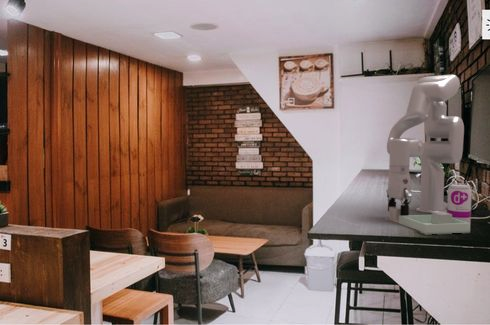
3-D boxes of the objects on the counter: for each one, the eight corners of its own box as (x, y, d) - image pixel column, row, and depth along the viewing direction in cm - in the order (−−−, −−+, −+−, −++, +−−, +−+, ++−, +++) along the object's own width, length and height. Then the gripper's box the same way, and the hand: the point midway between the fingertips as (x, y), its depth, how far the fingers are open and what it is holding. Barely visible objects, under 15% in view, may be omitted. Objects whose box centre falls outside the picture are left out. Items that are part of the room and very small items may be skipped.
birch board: (418, 218, 186) (418, 217, 186) (430, 222, 178) (430, 221, 178) (384, 219, 184) (384, 218, 184) (395, 224, 175) (395, 222, 175)
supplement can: (469, 226, 170) (470, 187, 169) (445, 224, 174) (446, 185, 173) (471, 223, 177) (472, 185, 176) (448, 221, 181) (449, 183, 180)
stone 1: (399, 218, 183) (400, 206, 183) (407, 220, 178) (407, 208, 178) (388, 219, 182) (389, 206, 181) (396, 221, 177) (396, 208, 176)
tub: (439, 223, 177) (439, 214, 176) (470, 233, 159) (470, 223, 159) (398, 224, 173) (399, 215, 173) (426, 234, 156) (426, 224, 156)
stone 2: (443, 225, 170) (443, 212, 169) (451, 227, 165) (452, 214, 165) (431, 225, 169) (431, 212, 169) (439, 228, 164) (439, 214, 164)
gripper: (420, 171, 171) (418, 217, 172) (396, 168, 188) (395, 209, 189) (401, 171, 169) (400, 217, 170) (379, 168, 186) (378, 210, 187)
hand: (397, 213), depth 180 cm, fingers open, 9 cm apart
